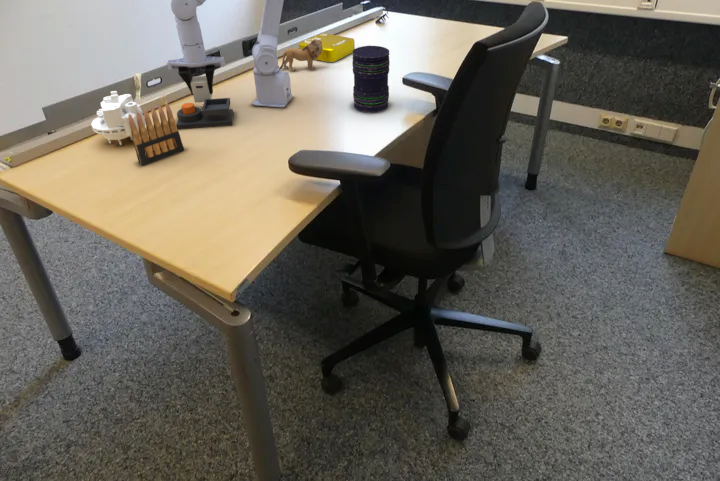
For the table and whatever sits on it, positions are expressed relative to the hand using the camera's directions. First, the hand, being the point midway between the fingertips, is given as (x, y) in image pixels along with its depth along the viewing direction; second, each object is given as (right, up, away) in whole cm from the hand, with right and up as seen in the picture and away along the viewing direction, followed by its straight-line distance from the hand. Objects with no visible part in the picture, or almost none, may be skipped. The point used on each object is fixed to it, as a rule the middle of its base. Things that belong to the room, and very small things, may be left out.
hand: (202, 93), depth 141 cm
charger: (0, -1, +1) cm, 2 cm away
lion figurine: (+25, +16, +27) cm, 40 cm away
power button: (-2, -7, -6) cm, 9 cm away
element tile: (+32, +25, +39) cm, 56 cm away
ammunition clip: (-4, -21, -19) cm, 29 cm away
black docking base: (+2, -9, -4) cm, 10 cm away
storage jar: (+46, -3, +2) cm, 47 cm away
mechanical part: (-16, -16, -12) cm, 25 cm away
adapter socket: (+5, -6, -5) cm, 10 cm away
